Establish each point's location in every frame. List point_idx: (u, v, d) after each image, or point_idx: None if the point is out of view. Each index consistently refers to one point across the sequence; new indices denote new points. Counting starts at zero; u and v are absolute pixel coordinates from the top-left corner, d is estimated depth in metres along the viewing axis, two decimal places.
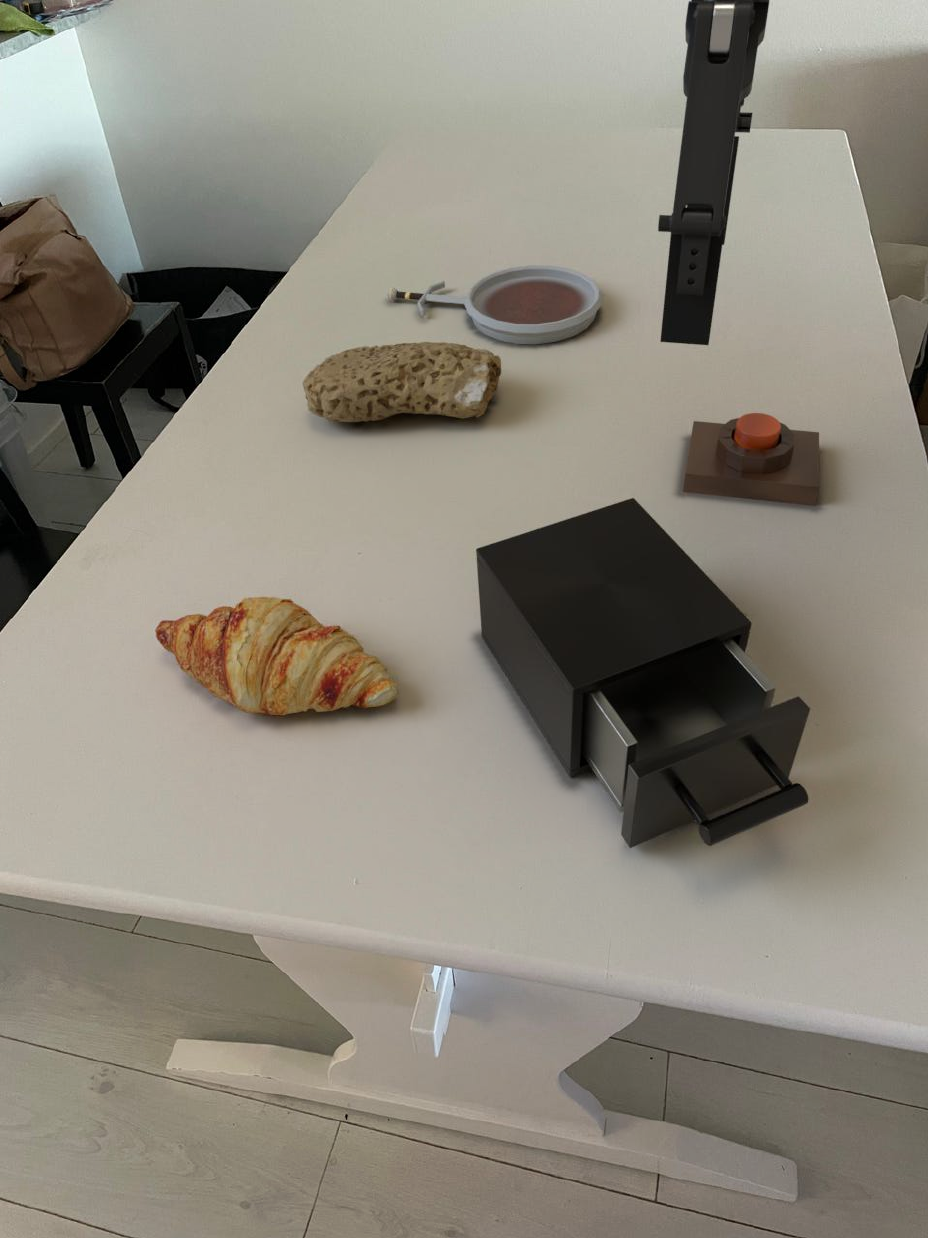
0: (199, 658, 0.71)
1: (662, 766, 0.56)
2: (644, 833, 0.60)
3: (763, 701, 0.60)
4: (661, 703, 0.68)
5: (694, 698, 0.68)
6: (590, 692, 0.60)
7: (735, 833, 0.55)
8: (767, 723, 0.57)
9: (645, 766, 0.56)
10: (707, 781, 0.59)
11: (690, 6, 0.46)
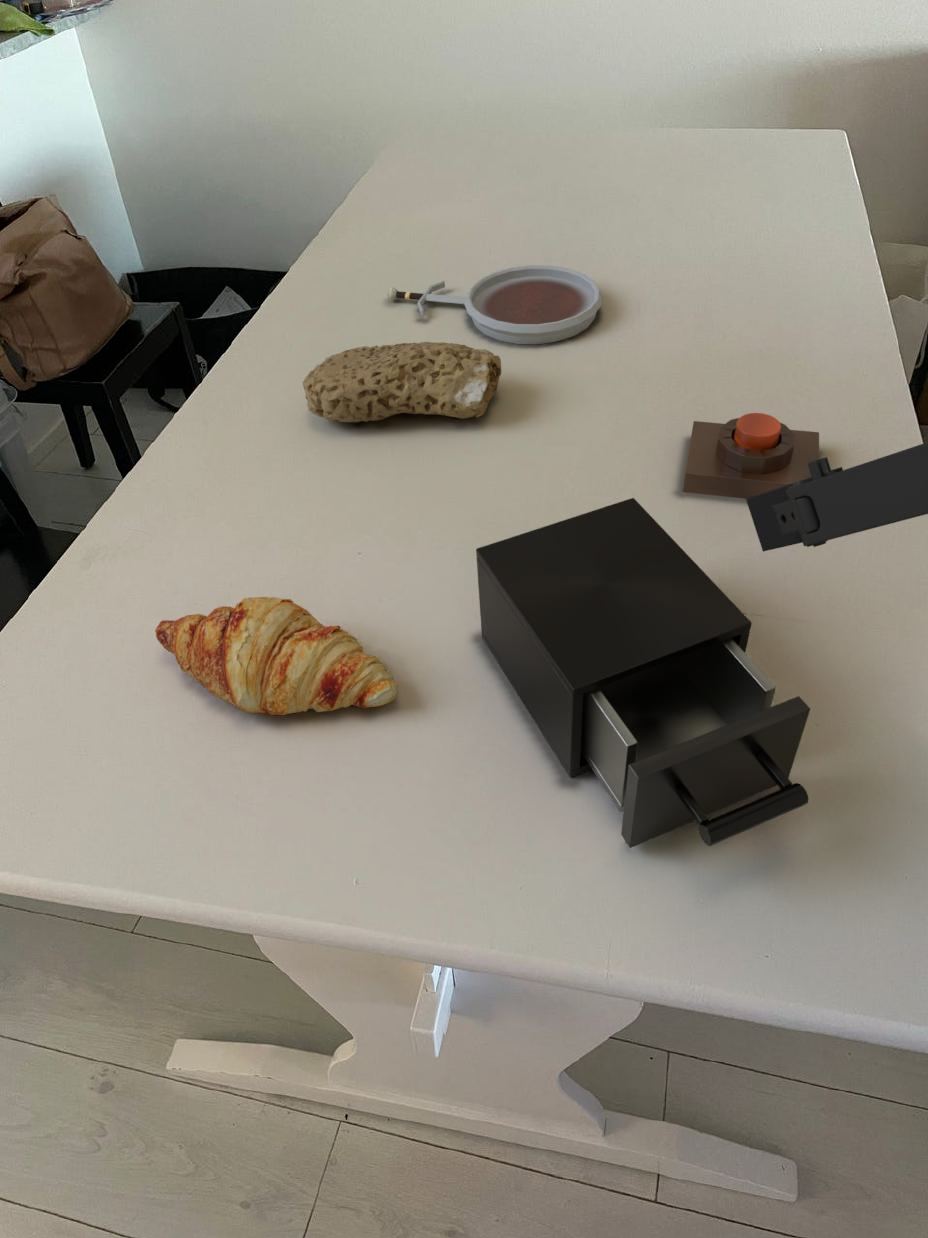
0: (199, 658, 0.71)
1: (662, 766, 0.56)
2: (644, 833, 0.60)
3: (763, 701, 0.60)
4: (661, 703, 0.68)
5: (694, 698, 0.68)
6: (590, 692, 0.60)
7: (735, 833, 0.55)
8: (767, 723, 0.57)
9: (645, 766, 0.56)
10: (707, 781, 0.59)
11: None
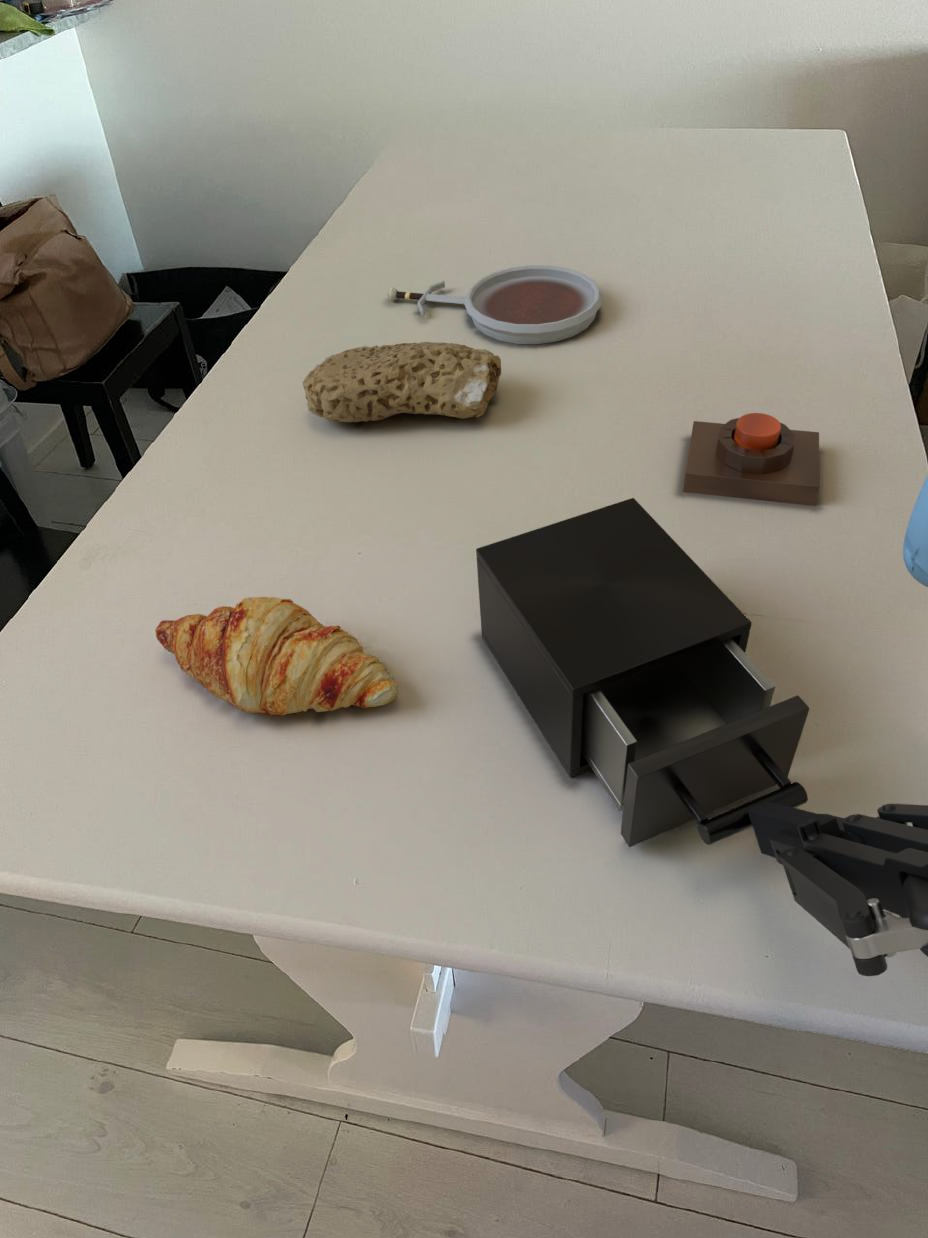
0: (199, 658, 0.71)
1: (661, 765, 0.56)
2: (643, 832, 0.60)
3: (762, 700, 0.60)
4: (660, 702, 0.68)
5: (693, 697, 0.68)
6: (589, 691, 0.60)
7: (734, 832, 0.55)
8: (766, 722, 0.57)
9: (644, 765, 0.56)
10: (706, 780, 0.59)
11: None
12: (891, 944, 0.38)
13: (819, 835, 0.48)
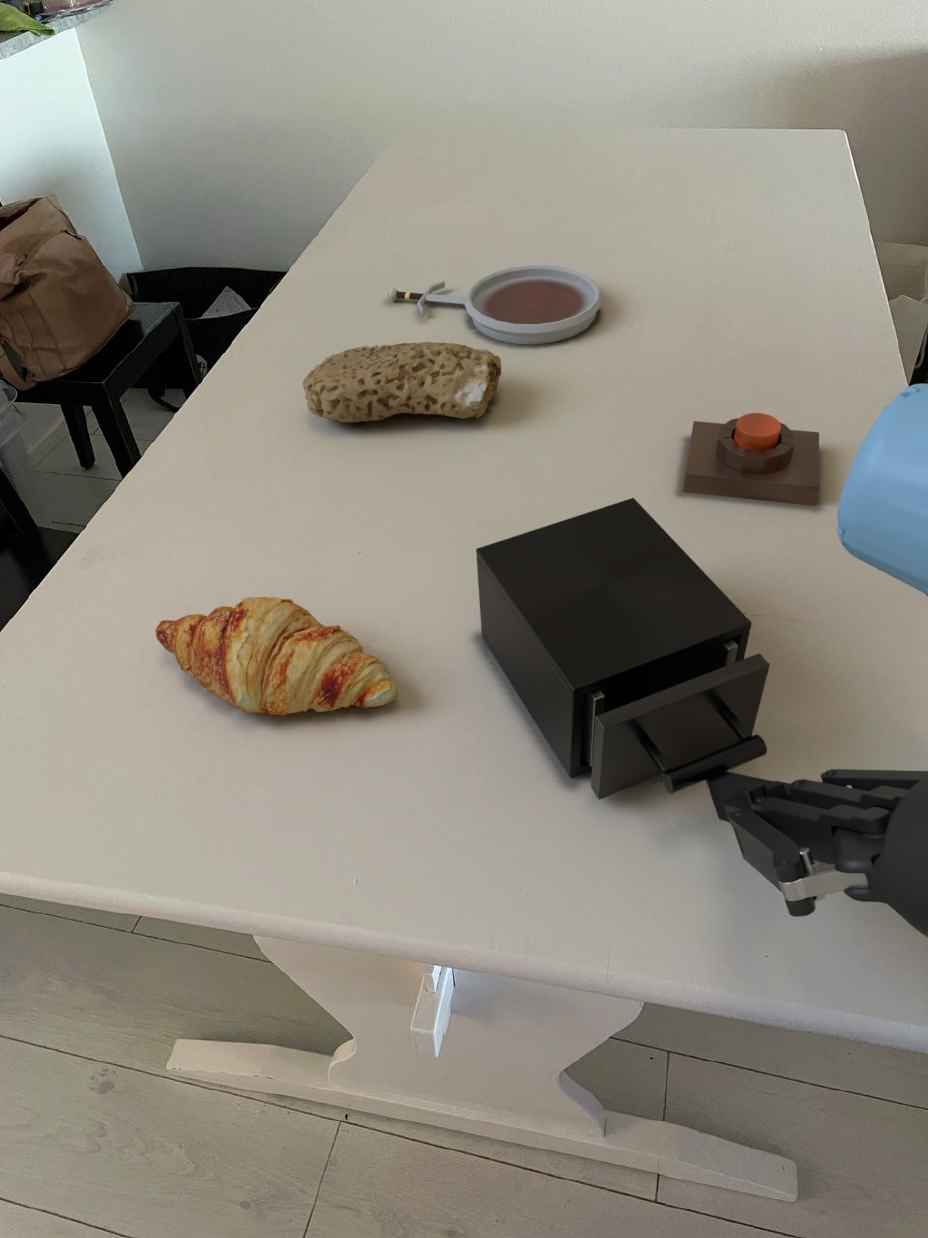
0: (199, 658, 0.71)
1: (627, 718, 0.58)
2: (612, 785, 0.63)
3: (726, 659, 0.63)
4: None
5: None
6: None
7: (696, 781, 0.58)
8: (728, 678, 0.60)
9: (611, 718, 0.58)
10: (672, 734, 0.62)
11: None
12: (818, 887, 0.42)
13: (766, 798, 0.52)
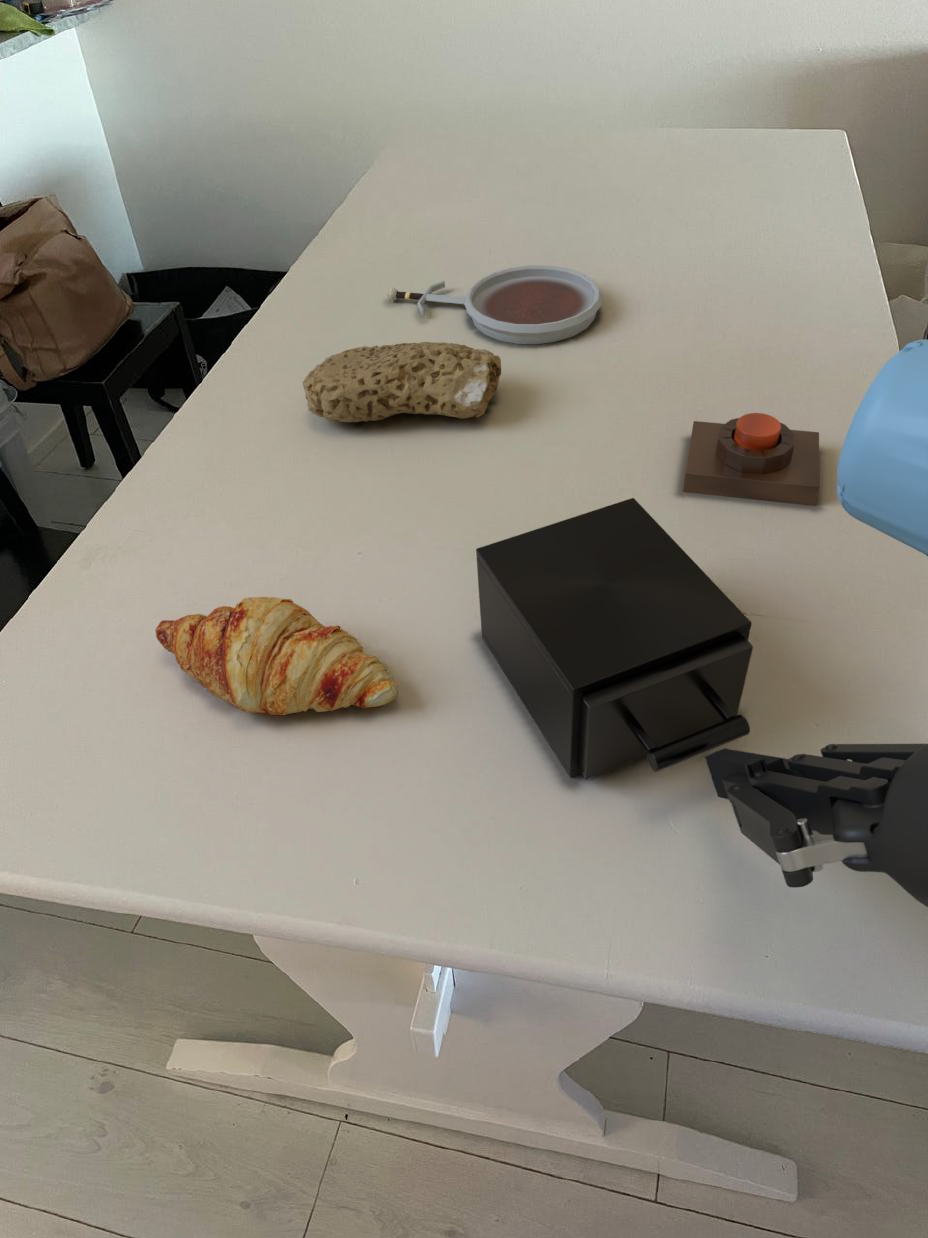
0: (199, 658, 0.71)
1: (612, 698, 0.60)
2: (598, 765, 0.64)
3: None
4: None
5: None
6: None
7: (680, 759, 0.59)
8: (712, 659, 0.61)
9: (596, 697, 0.60)
10: (657, 715, 0.63)
11: None
12: (816, 857, 0.41)
13: (765, 772, 0.51)
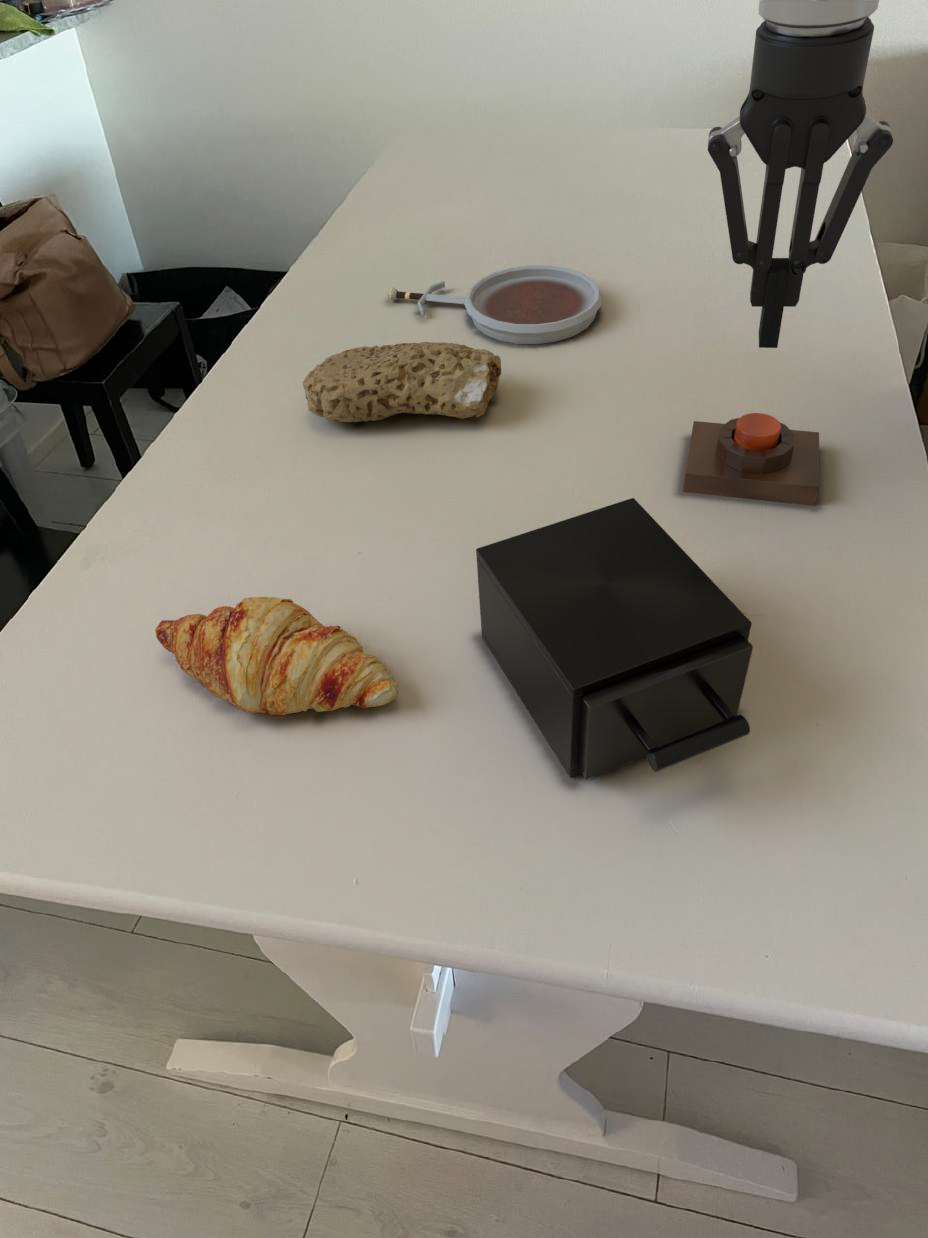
0: (199, 658, 0.71)
1: (612, 698, 0.60)
2: (598, 765, 0.64)
3: None
4: None
5: None
6: None
7: (680, 759, 0.59)
8: (712, 659, 0.61)
9: (596, 697, 0.60)
10: (657, 715, 0.63)
11: (827, 124, 0.64)
12: (726, 127, 0.67)
13: None
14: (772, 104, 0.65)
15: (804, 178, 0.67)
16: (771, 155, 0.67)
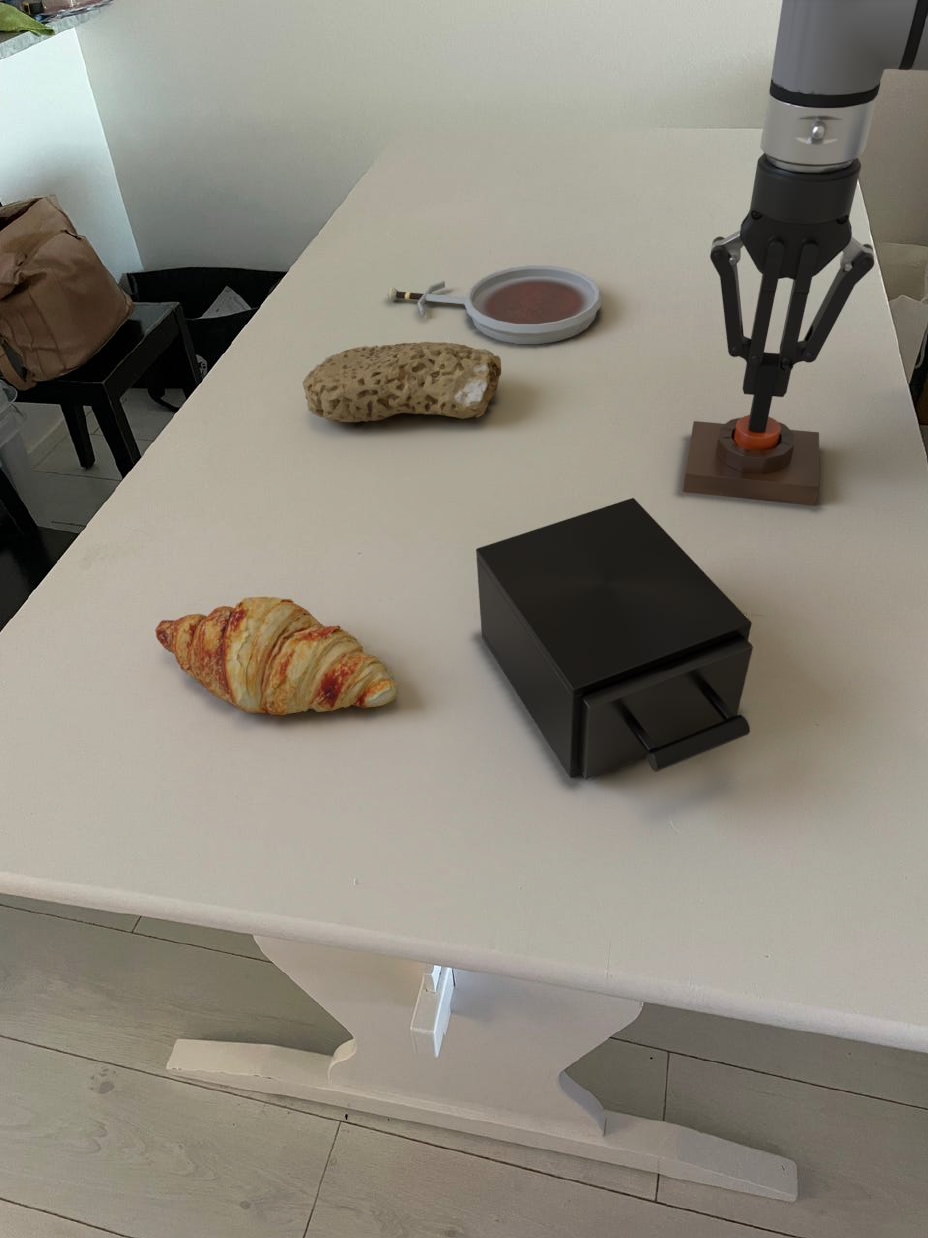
0: (199, 658, 0.71)
1: (612, 698, 0.60)
2: (598, 765, 0.64)
3: None
4: None
5: None
6: None
7: (680, 759, 0.59)
8: (712, 659, 0.61)
9: (596, 697, 0.60)
10: (657, 715, 0.63)
11: (816, 244, 0.72)
12: (727, 238, 0.75)
13: None
14: (769, 223, 0.73)
15: (794, 288, 0.75)
16: (766, 267, 0.75)
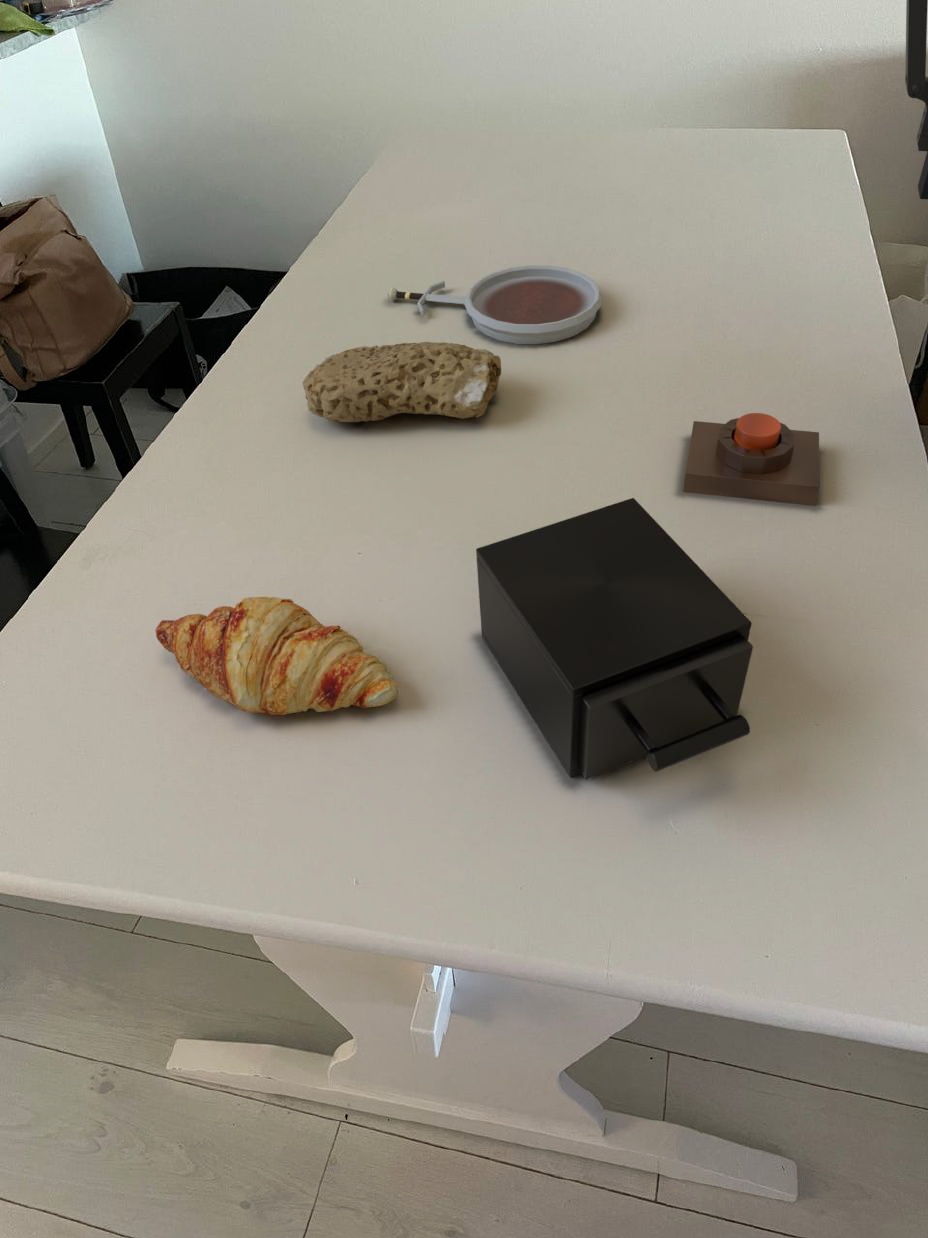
0: (199, 658, 0.71)
1: (612, 698, 0.60)
2: (598, 765, 0.64)
3: None
4: None
5: None
6: None
7: (680, 759, 0.59)
8: (712, 659, 0.61)
9: (596, 697, 0.60)
10: (657, 715, 0.63)
11: None
12: None
13: None
14: None
15: None
16: None
